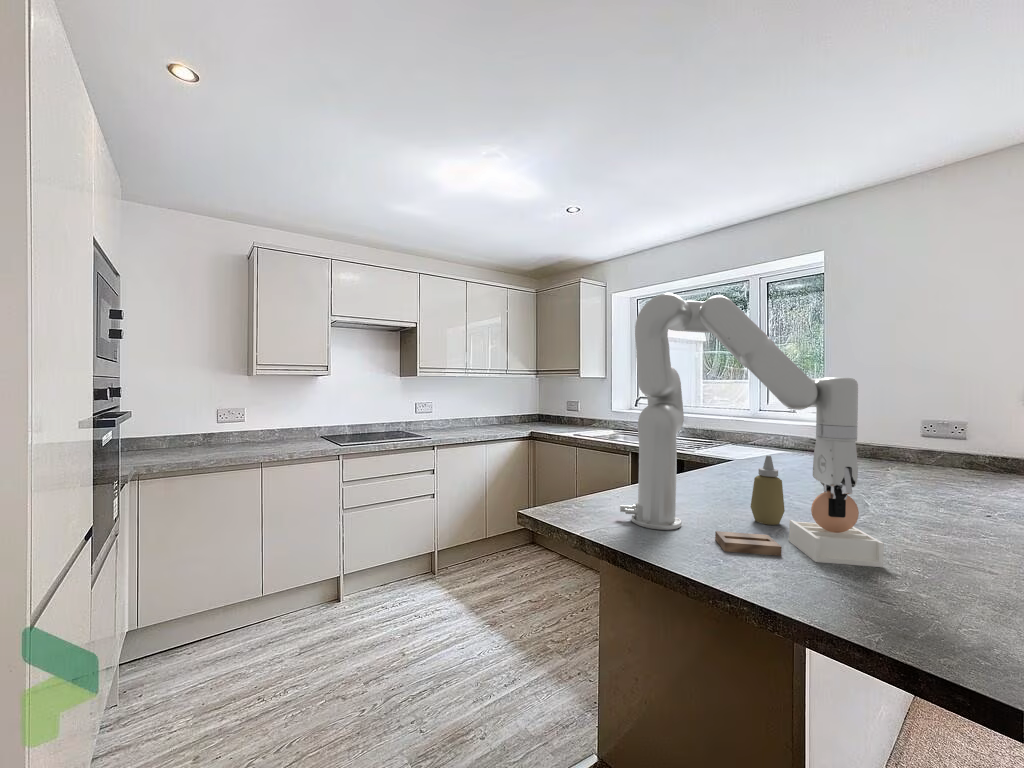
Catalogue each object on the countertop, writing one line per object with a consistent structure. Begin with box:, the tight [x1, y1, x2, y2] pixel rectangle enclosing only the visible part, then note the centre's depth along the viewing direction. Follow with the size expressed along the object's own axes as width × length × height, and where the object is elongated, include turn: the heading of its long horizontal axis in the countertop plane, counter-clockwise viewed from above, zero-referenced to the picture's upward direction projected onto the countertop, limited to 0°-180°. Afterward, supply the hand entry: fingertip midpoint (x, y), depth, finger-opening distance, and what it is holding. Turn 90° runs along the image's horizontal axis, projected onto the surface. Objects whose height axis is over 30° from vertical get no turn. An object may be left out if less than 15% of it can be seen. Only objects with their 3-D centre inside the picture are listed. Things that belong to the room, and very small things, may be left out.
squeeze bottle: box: [750, 455, 785, 526], centre depth 125 cm, size 8×8×18 cm
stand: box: [714, 530, 783, 557], centre depth 105 cm, size 12×8×2 cm
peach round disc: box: [810, 491, 860, 533], centre depth 102 cm, size 1×9×9 cm, turn 80°
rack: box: [788, 519, 885, 568], centre depth 103 cm, size 13×13×5 cm
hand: (834, 515), depth 102 cm, fingers closed on peach round disc, 1 cm apart
